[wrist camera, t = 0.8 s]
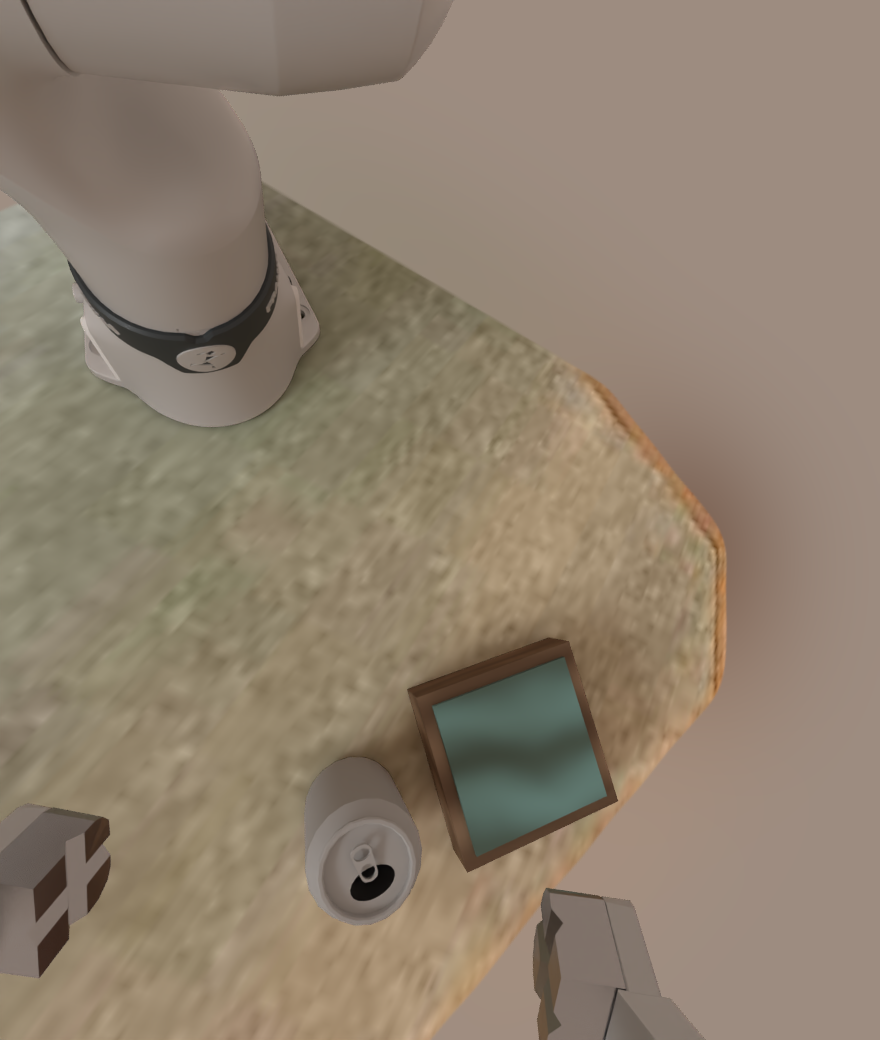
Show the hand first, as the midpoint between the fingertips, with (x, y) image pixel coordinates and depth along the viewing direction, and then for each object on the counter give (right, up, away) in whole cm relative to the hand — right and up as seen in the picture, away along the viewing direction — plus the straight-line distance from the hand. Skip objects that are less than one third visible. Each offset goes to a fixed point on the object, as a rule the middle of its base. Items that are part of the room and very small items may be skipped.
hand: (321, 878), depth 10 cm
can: (-5, -17, +35) cm, 40 cm away
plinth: (+8, -13, +39) cm, 42 cm away
